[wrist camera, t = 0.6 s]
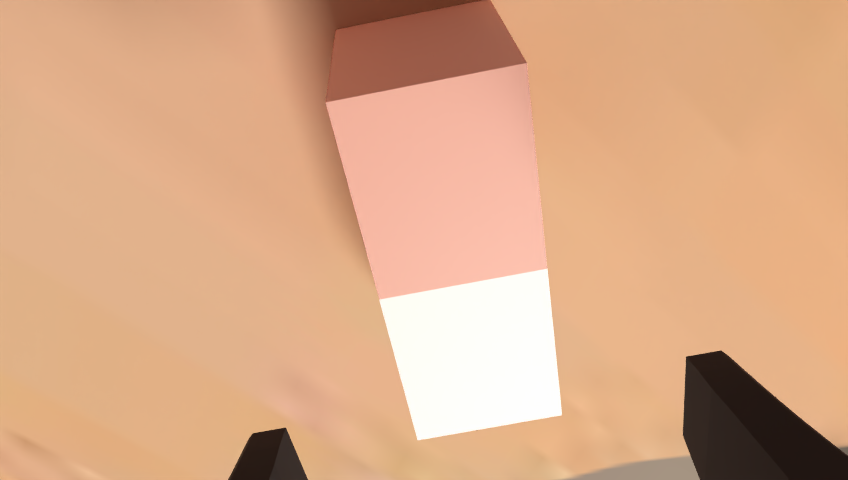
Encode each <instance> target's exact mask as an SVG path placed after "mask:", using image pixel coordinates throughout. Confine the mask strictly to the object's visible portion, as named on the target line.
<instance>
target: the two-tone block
mask: <svg viewBox="0 0 848 480" xmlns="http://www.w3.org/2000/svg"><path fill="white" fill-rule="evenodd" d="M326 106H327V110H328V113H329V117H330V121H331V124H332V128H333V132H334V135H335V139H336V143H337V146H338V150H339V154H340V157H341V161H342V165H343V168H344V172H345V176H346V179H347V183H348V187H349V190H350V194H351V198H352V201H353V205H354V209H355V212H356V216H357V219H358V223H359V227H360V230H361V234H362V238H363V241H364V245H365V249H366V252H367V256H368V260H369V263H370V267H371V271H372V274H373V278H374V282H375V285H376V289H377V293H378V296H379V300H380V304H381V307H382V311H383V315H384V318H385V322H386V326H387V329H388V333H389V337H390V340H391V344H392V348H393V351H394V355H395V359H396V362H397V366H398V370H399V373H400V377H401V381H402V384H403V388H404V392H405V395H406V399H407V403H408V406H409V410H410V413H411V417H412V421H413V424H414V428H415V432H416V435H417V439H418V440H422V439H428V438H433V437H439V436H445V435H451V434H456V433H462V432H468V431H474V430H479V429H485V428H491V427H496V426H502V425H508V424H514V423H519V422H525V421H531V420H536V419H542V418H548V417H554V416H559V415H562V411H561V401H560V391H559V381H558V371H557V361H556V351H555V341H554V331H553V321H552V311H551V301H550V290H549V280H548V270H547V260H546V250H545V240H544V230H543V220H542V210H541V200H540V190H539V180H538V170H537V160H536V150H535V140H534V130H533V119H532V109H531V99H530V89H529V79H528V69H527V62H526V61H525V59H524V57H523V55H522V54H521V52H520V50H519V49H518V47H517V45H516V43H515V42H514V40H513V38H512V37H511V35H510V33H509V31H508V30H507V28H506V26H505V25H504V23H503V21H502V19H501V18H500V16H499V14H498V13H497V11H496V9H495V7H494V6H493V4H492V2H491V1H490V0H481V1H476V2H471V3H466V4H461V5H456V6H451V7H446V8H441V9H436V10H431V11H426V12H421V13H416V14H411V15H406V16H401V17H396V18H391V19H386V20H381V21H376V22H371V23H366V24H361V25H356V26H351V27H346V28H341V29H336V33H335V40H334V47H333V54H332V61H331V68H330V75H329V82H328V89H327V96H326Z"/></svg>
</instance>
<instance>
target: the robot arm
mask: <svg viewBox="0 0 848 480" xmlns="http://www.w3.org/2000/svg"><path fill="white" fill-rule="evenodd" d="M683 436H684V439H685V442H686V444H687V447H688V450H689V452H690V455H691V458H692V460H693V463H694V465H695V468H696V471H697V473H698V476H699V478H700V480H848V455H846V454H845V453H844V452H842V451H841V450H840V449H838V448H837V447H836V446H835V445H833V444H832V443H831V442H830V441H828V440H827V439H826V438H825V437H823V436H822V435H821V434H820V433H818V432H817V431H816V430H815V429H813V428H812V427H811V426H810V425H808V424H807V423H806V422H804V421H803V420H802V419H801V418H800V417H798V416H797V415H796V414H795V413H794V412H792V411H791V410H790V409H789V408H788V407H786V406H785V405H784V404H783V403H782V402H780V401H779V400H778V399H777V398H776V397H775V396H773V395H772V394H771V393H770V392H769V391H768V390H766V389H765V388H764V387H763V386H762V385H761V384H760V383H758V382H757V381H756V380H755V379H754V378H753V377H752V376H750V375H749V374H748V373H747V372H746V371H745V370H744V369H743V368H741V367H740V366H739V365H738V364H737V363H736V362H735V361H734V360H732V359H731V358H730V357H729V356H728V355H727V354H725V353H724V352H722V351H716V352H710V353H705V354H699V355H693V356H688V357H686V374H685V399H684V423H683ZM228 480H308V479H307V477H306V474H305V472H304V470H303V467H302V465H301V462H300V460H299V458H298V455H297V453H296V451H295V448H294V446H293V444H292V441H291V439H290V436H289V434H288V432H287V429H286V428H281V429H275V430H270V431H264V432H258V433H253V434H252V435H251V437H250V438H249V439H248V441H247V443H246V445H245V447H244V449H243V451H242V454H241V456H240V458H239V460H238V462H237V464H236V465H235V467H234V469H233V471H232V473H231V475H230V477H229V479H228Z"/></svg>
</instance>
